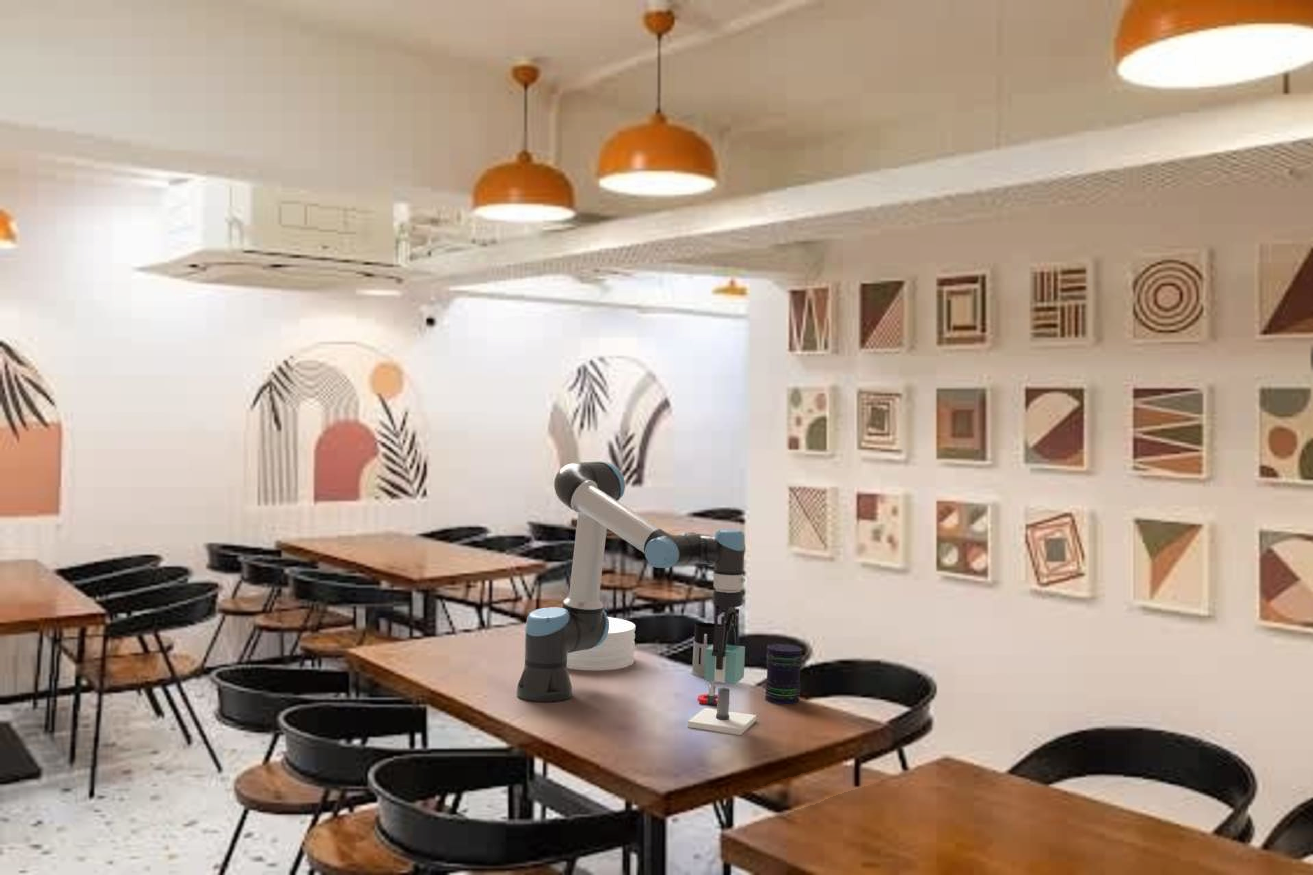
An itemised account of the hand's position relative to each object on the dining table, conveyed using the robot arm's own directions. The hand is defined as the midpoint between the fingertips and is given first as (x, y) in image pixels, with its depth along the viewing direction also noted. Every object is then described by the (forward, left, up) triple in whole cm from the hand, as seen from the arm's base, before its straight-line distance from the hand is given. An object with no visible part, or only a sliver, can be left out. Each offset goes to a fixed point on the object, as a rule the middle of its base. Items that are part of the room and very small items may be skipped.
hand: (724, 677), depth 277 cm
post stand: (0, 0, -12) cm, 12 cm away
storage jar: (+8, +31, -12) cm, 34 cm away
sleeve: (0, 0, 0) cm, 0 cm away
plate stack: (-59, +47, -12) cm, 76 cm away
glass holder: (-20, +46, -12) cm, 52 cm away
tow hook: (-9, +20, -12) cm, 25 cm away
